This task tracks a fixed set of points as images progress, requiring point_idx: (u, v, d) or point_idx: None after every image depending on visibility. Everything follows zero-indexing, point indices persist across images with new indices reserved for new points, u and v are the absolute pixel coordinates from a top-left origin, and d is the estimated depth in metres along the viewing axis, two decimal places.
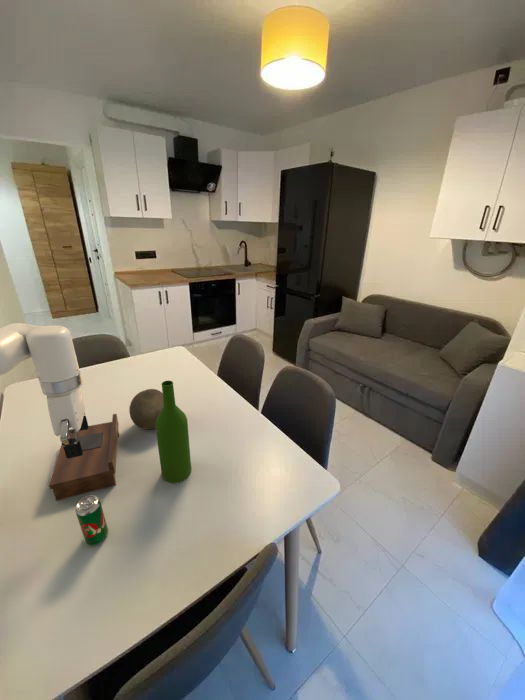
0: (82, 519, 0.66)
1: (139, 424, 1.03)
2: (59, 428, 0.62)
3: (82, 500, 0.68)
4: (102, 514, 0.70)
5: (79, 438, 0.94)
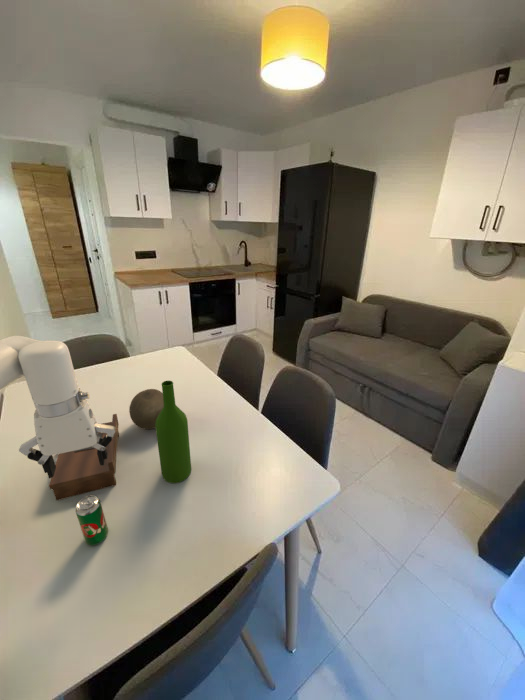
0: (82, 519, 0.66)
1: (139, 424, 1.03)
2: None
3: (82, 500, 0.68)
4: (102, 514, 0.70)
5: None
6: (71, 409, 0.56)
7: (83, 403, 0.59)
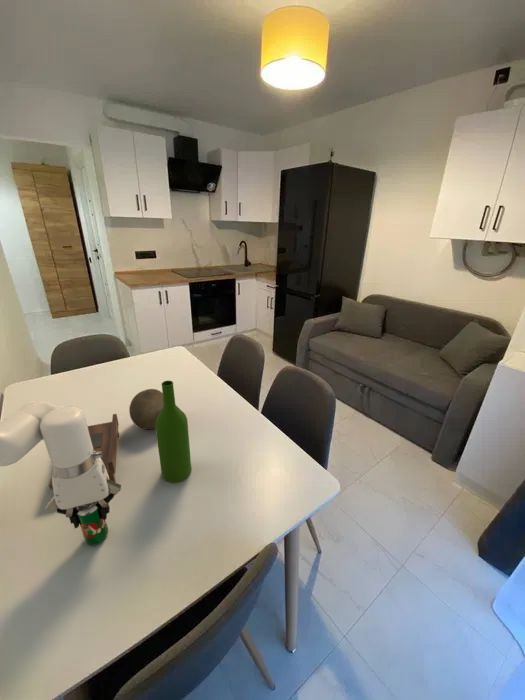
0: (82, 519, 0.66)
1: (139, 424, 1.03)
2: None
3: None
4: None
5: None
6: (86, 469, 0.61)
7: (96, 460, 0.64)
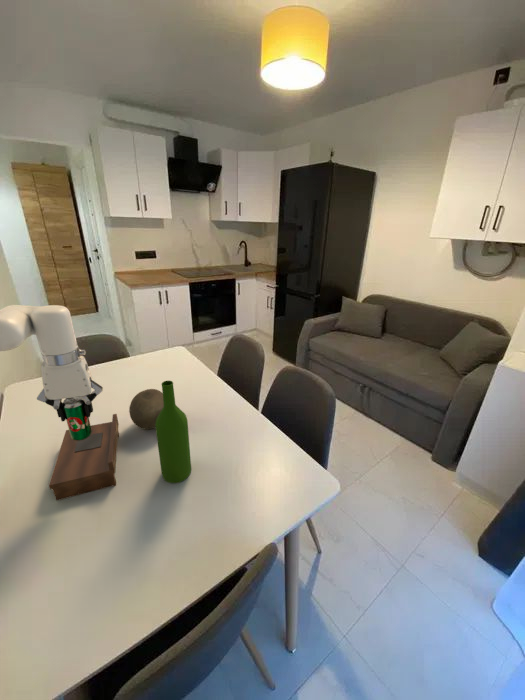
0: (68, 412, 0.75)
1: (139, 424, 1.03)
2: None
3: (68, 398, 0.77)
4: None
5: None
6: (71, 361, 0.70)
7: (81, 358, 0.74)
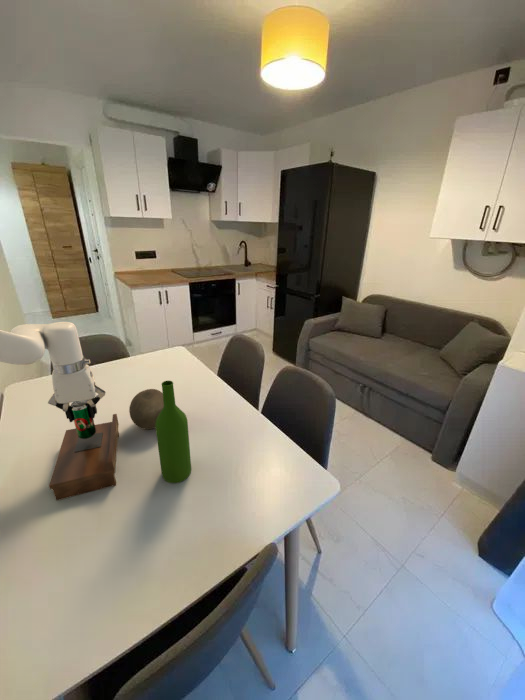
0: (75, 414, 0.86)
1: (139, 424, 1.03)
2: None
3: None
4: None
5: (79, 438, 0.94)
6: (78, 369, 0.81)
7: (86, 367, 0.84)
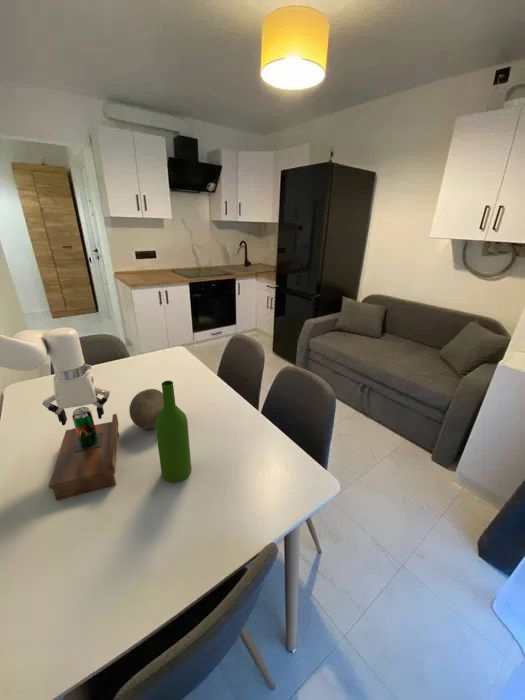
0: (77, 422, 0.87)
1: (139, 424, 1.03)
2: None
3: (77, 409, 0.89)
4: (92, 422, 0.91)
5: None
6: (79, 375, 0.81)
7: (87, 372, 0.85)
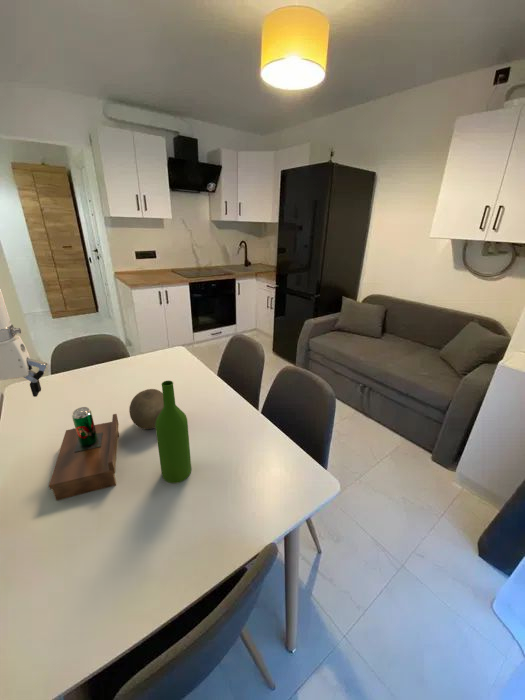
0: (77, 422, 0.87)
1: (139, 424, 1.03)
2: None
3: (77, 409, 0.89)
4: (92, 422, 0.91)
5: None
6: (2, 339, 0.66)
7: (15, 338, 0.70)
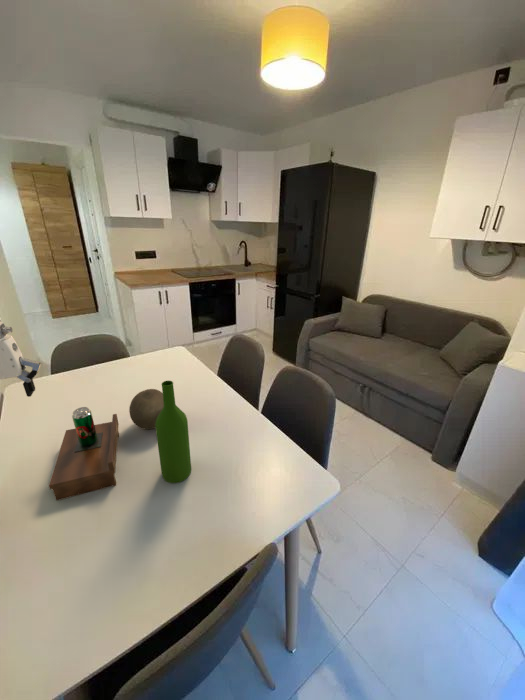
0: (77, 422, 0.87)
1: (139, 424, 1.03)
2: None
3: (77, 409, 0.89)
4: (92, 422, 0.91)
5: None
6: None
7: (7, 337, 0.68)
